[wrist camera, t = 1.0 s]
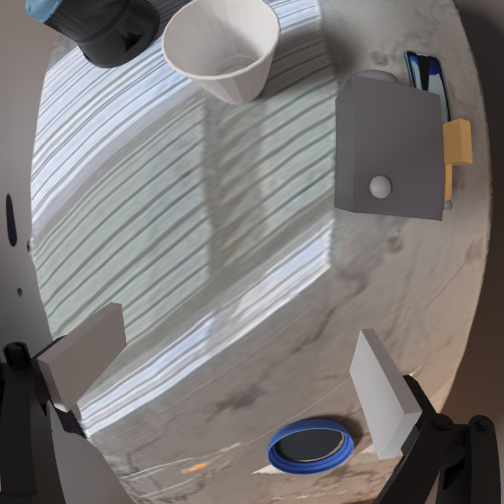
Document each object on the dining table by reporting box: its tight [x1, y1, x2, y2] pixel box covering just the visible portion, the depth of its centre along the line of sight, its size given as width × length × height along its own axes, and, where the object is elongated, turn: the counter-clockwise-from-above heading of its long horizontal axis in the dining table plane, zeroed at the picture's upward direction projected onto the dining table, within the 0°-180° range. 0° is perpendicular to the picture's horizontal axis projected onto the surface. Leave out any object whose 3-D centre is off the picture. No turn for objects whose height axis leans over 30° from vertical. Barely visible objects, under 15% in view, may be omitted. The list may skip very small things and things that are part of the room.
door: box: [443, 118, 472, 210], centre depth 29 cm, size 11×2×14 cm, turn 178°
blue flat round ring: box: [267, 419, 354, 475], centre depth 47 cm, size 18×18×4 cm
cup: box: [162, 0, 281, 104], centre depth 28 cm, size 12×12×16 cm
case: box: [334, 70, 444, 221], centre depth 31 cm, size 18×12×11 cm, turn 178°
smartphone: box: [404, 50, 452, 124], centre depth 33 cm, size 7×1×15 cm
